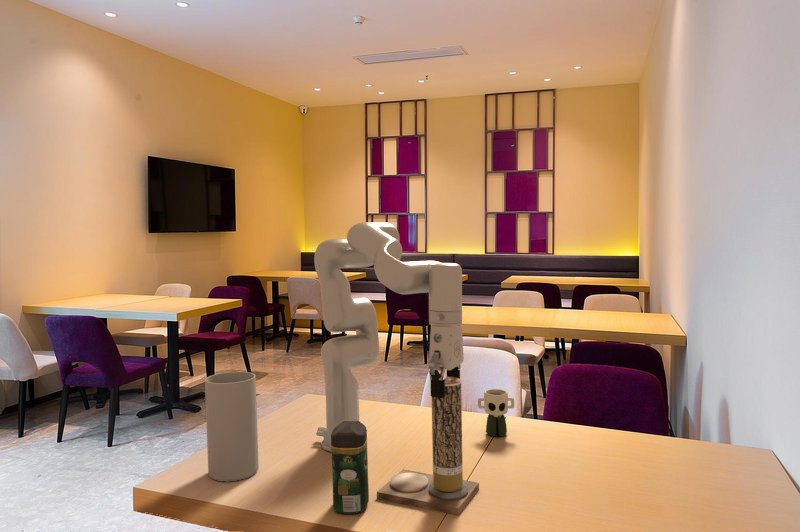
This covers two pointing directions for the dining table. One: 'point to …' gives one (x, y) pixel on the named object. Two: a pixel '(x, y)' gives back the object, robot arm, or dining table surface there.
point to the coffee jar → (349, 467)
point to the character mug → (496, 410)
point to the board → (426, 492)
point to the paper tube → (447, 437)
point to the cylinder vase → (231, 425)
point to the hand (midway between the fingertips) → (445, 391)
